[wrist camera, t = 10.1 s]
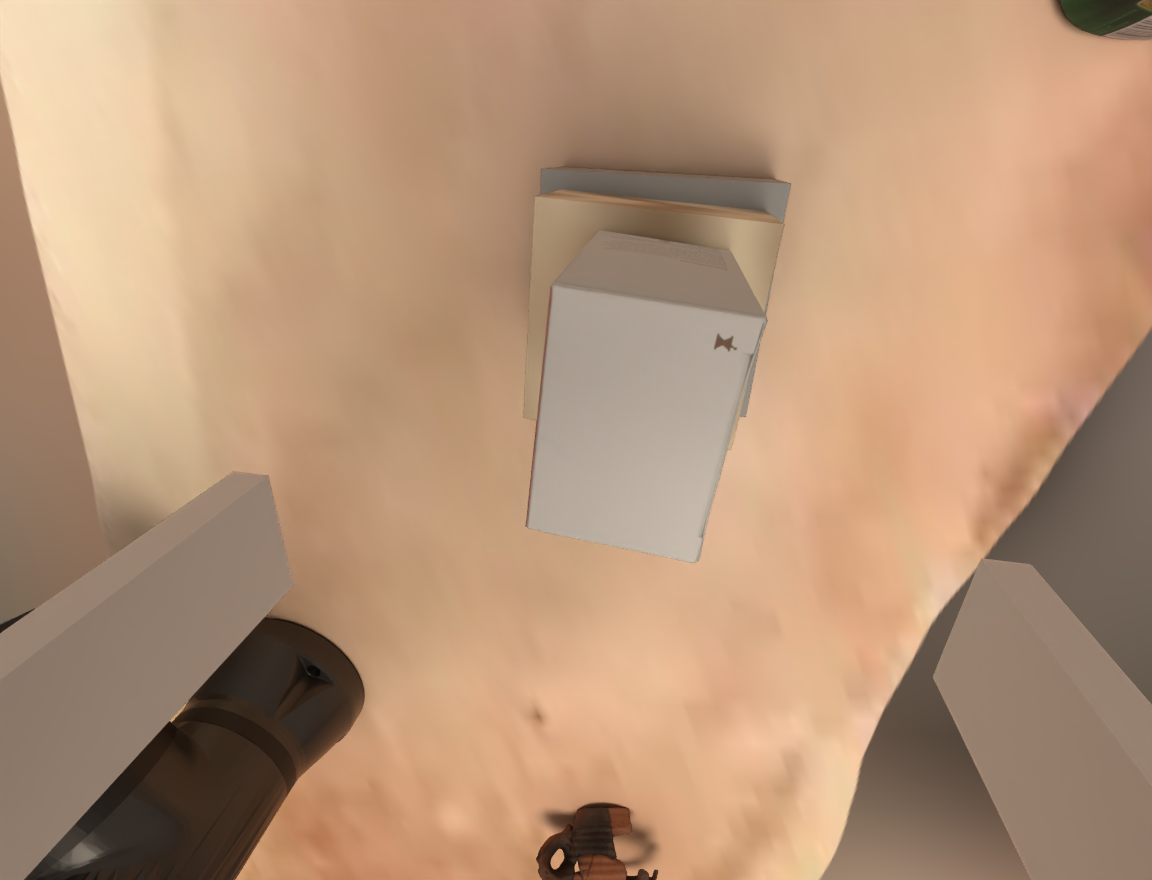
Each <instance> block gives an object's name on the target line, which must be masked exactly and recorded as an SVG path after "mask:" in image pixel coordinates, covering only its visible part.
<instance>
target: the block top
mask: <svg viewBox="0 0 1152 880" xmlns="http://www.w3.org/2000/svg"><path fill="white" fill-rule="evenodd" d="M783 228H784V224H783V223H782V222H781V221H779V220H778V219H777V218H775V217H774V216H772V215H771V214H770V213H768V212H767V211H759V210H750V209H740V208H731V207H722V206H713V205H704V204H694V203H685V202H676V201H667V200H657V199H648V198H639V197H630V196H621V195H611V194H602V193H593V192H584V191H575V190H565V189H562V190H558V191H554V192H550V193H547V194H543V195H539V196H535V201H534V220H533V239H532V258H531V277H530V296H529V315H528V334H527V353H526V372H525V391H524V409H523V418H526V419H532V420H537V413H538V403H539V393H540V383H541V374H542V364H543V355H544V345H545V336H546V326H547V316H548V306H549V297H550V286H551V284H552V283H553V282H554V281H555V280H556V279H557V277H558V276H559V275H560V274H561V273H562V272H563V271H564V269H565V268H566V267H567V266H568V265H569V264H570V263H571V261H572V260H573V259H574V258H575V257H576V256H577V255H578V253H579V252H580V251H581V250H582V249H583V248H584V247H585V245H586V244H587V243H588V242H589V241H590V240H591V239H592V237H593V236H594V235H595V234H596V233H597V232H598V231H599V230H603V231H609V232H615V233H622V234H628V235H635V236H641V237H647V238H653V239H659V240H666V241H672V242H678V243H684V244H691V245H697V246H703V247H709V248H715V249H722V250H730V251H731V252H732V254H733V256H734V258H735V259H736V261H737V263H738V265H739V267H740V268H741V270H742V272H743V274H744V276H745V278H746V280H747V282H748V283H749V285H750V287H751V289H752V291H753V293H754V295H755V297H756V298H757V300H758V302H759V304H760V306H761V308H762V310H763V312H764V309H765V305H766V301H767V296H768V292H769V288H770V284H771V279H772V275H773V271H774V267H775V262H776V258H777V254H778V250H779V245H780V241H781V237H782V233H783ZM747 382H748V380H747ZM746 386H747V383H746ZM746 386H745V390H746ZM745 390H744V393H743V396H742V400H741V403H740V407H739V410H738V414H737V417H736V421H735V424H734V428H733V431H732V435H731V438H730V441H729V445H728V449H727V450H732V445H733V441H734V437H735V433H736V428H737V424H738V420H739V416H740V411H741V407H742V403H743V399H744V394H745Z"/></svg>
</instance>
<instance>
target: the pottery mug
mask: <svg viewBox="0 0 1152 880" xmlns="http://www.w3.org/2000/svg"><path fill="white" fill-rule="evenodd" d="M631 832H632V825H631V822H630V814H629V809H628V808H622V807H620V808H617V807H614V808H598V807H591V808H582V809H579V810H577V815H576V820H575V822H574V827H573V826H572V825H570V824H569V825H568V826H567V827H566V829H565V830H564V831H563V832H561V833H558V834H555V835H553V836H551V837H549V838H548V839H547V840H546V842H545V843H544V844H543V846H542V847H541V848H540V850H539V853H538V856H537V858H536V860H537V862H538V864H539V869H538V873H539V875H540V877H541V878H542V880H656V879H657V875H658V870H654V873H653V876H652V877H649V874H648V872H647V871H645V870H644V869H640V870H639V871H638V875H637V876H627V871H626V868H625V866H624V864H623V863H622V862H621V861H620V860H618V859H616V857H617V856H616V852H615V848H614V843H613V836H617V835H623V834H630V833H631ZM558 849H562V850H563V852H564V857H565V858H564V861H563V862H562V863H561V865H560V867H559V868H558V869H555V870H554V869H553V868H552V867H551V864H550V861H551V858H552V856H553V855H554V853H555V852H556V851H557V850H558ZM577 861H578V865H579V869H580V871H578V872H576V873H575V869H574V866H575V864H576V862H577Z"/></svg>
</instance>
